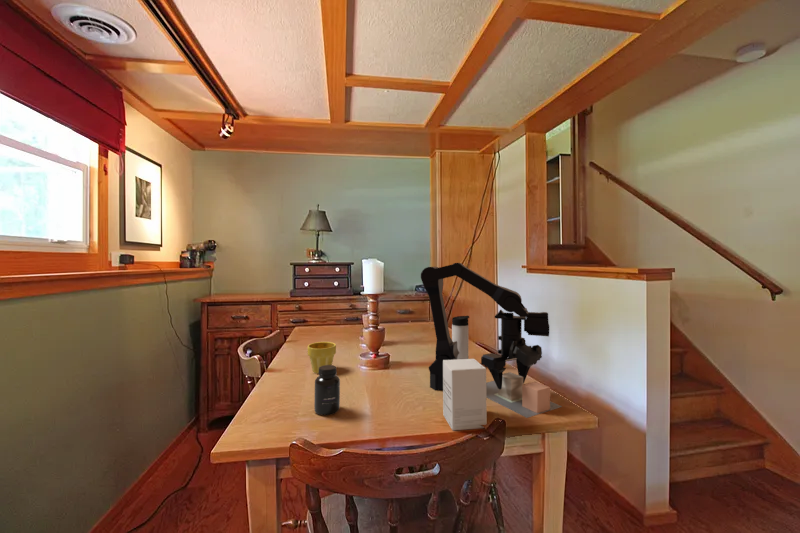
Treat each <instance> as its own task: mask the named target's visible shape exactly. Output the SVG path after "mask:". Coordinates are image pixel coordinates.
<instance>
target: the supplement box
mask: <svg viewBox="0 0 800 533" xmlns="http://www.w3.org/2000/svg"><path fill="white" fill-rule="evenodd" d="M486 382H487V367H485V365H483V364H481V362H479V361H478V360H476V359H475V358H468V359H457V360H443V391H442V410H443V411H442V414H443V417H444V419H445V420H446V422H447V424H448V425H449V427H450V429H451V430H452V431H463V430H464V431H465V430H475V429H485V427H484V426H483V425H487V423H488V422H487V418H488V416H487V414H488V413H487V411H488V410H487V398H486Z"/></svg>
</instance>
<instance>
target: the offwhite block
mask: <svg viewBox="0 0 800 533" xmlns="http://www.w3.org/2000/svg"><path fill="white" fill-rule="evenodd" d="M522 385H523V377H522V376H519V375H518V374H516V373H514V372H511V371H508V372H505V373H504V372H503V375H502V388H501V389H498V395H500V396H502V397H504V398H506V399H509V400H511V401H512V400H515V399H519V398H522Z"/></svg>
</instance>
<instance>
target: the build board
mask: <svg viewBox="0 0 800 533" xmlns="http://www.w3.org/2000/svg"><path fill="white" fill-rule="evenodd" d="M486 399H489V400H490V401H492V402H494V403H497V404H498V405H500V406H502V407H505V408H506V409H508V410H510V411H512V412H514V413H516V414H518V415H520V416H522V417H523V418H526V419H529V418H531V417H535V416H538V415H541V414H544V413H547V412H551V411H554V410H556V409H559V408H563V406H562V405H560V404H557V403H555V402H553V401H550V409H549V410H546V411H543V412H540V413H536V412H534V411H532V410H529V409H527V408H525V407H523V406H522V398H519V399H515V400H512V401H511V400H509V399H506V398H504V397H502V396H500V395H498V388H497V385H496V383H495V381H494V380H491V381H486Z"/></svg>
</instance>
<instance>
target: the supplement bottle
mask: <svg viewBox="0 0 800 533" xmlns="http://www.w3.org/2000/svg"><path fill="white" fill-rule="evenodd" d="M317 374H318V376H316V378H315V380H314V404H313V405H314V412H315V413H316V414H317V415H318V416H319V415H320V416H331V415H334V414H336V413H338V411H339V410H340V408H341V407H340V405H341V404H340V403H341V402H340V401H341V398H340V397H341V390H340V389H341V387H340V386H341V380H340V377H339V376H338V375H337V365H335V364H334V365H333V364H332V365H323V366H320V367H319V372H318V373H317Z"/></svg>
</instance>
